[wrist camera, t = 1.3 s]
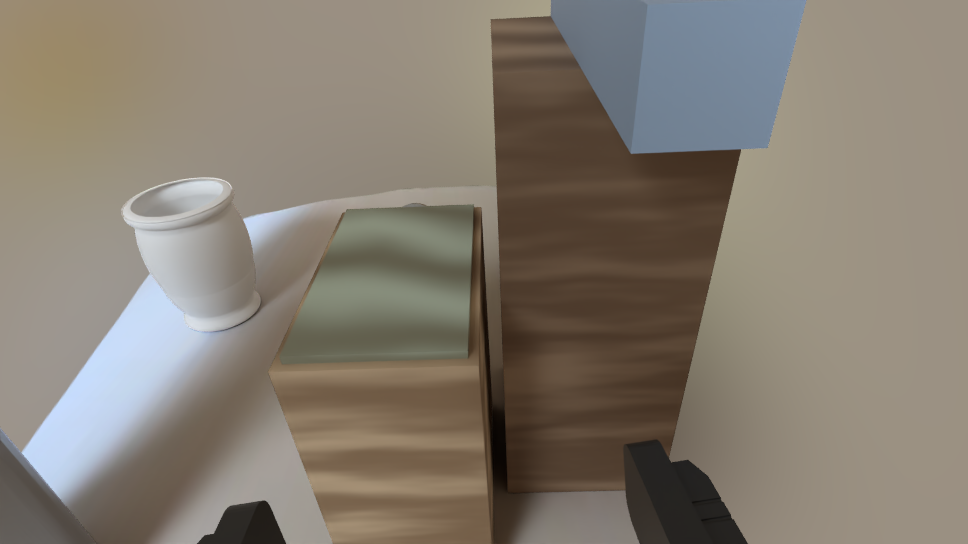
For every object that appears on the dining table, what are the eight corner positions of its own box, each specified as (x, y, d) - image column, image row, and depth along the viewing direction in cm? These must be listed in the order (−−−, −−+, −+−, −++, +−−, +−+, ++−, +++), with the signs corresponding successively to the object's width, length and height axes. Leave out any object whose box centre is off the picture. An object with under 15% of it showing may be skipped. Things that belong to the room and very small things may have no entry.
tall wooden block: (494, 583, 37) (477, 357, 25) (349, 586, 37) (265, 364, 25) (492, 403, 50) (480, 200, 38) (385, 407, 50) (341, 206, 38)
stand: (661, 489, 42) (761, 60, 24) (507, 492, 42) (492, 73, 24) (623, 363, 53) (672, 10, 35) (503, 366, 54) (490, 19, 36)
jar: (162, 345, 59) (101, 226, 51) (191, 290, 68) (143, 181, 59) (261, 333, 60) (217, 214, 51) (277, 281, 68) (242, 171, 60)
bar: (767, 147, 16) (807, -4, 14) (630, 153, 16) (647, 4, 14) (611, 13, 36) (616, -58, 33) (550, 16, 36) (552, -54, 33)
